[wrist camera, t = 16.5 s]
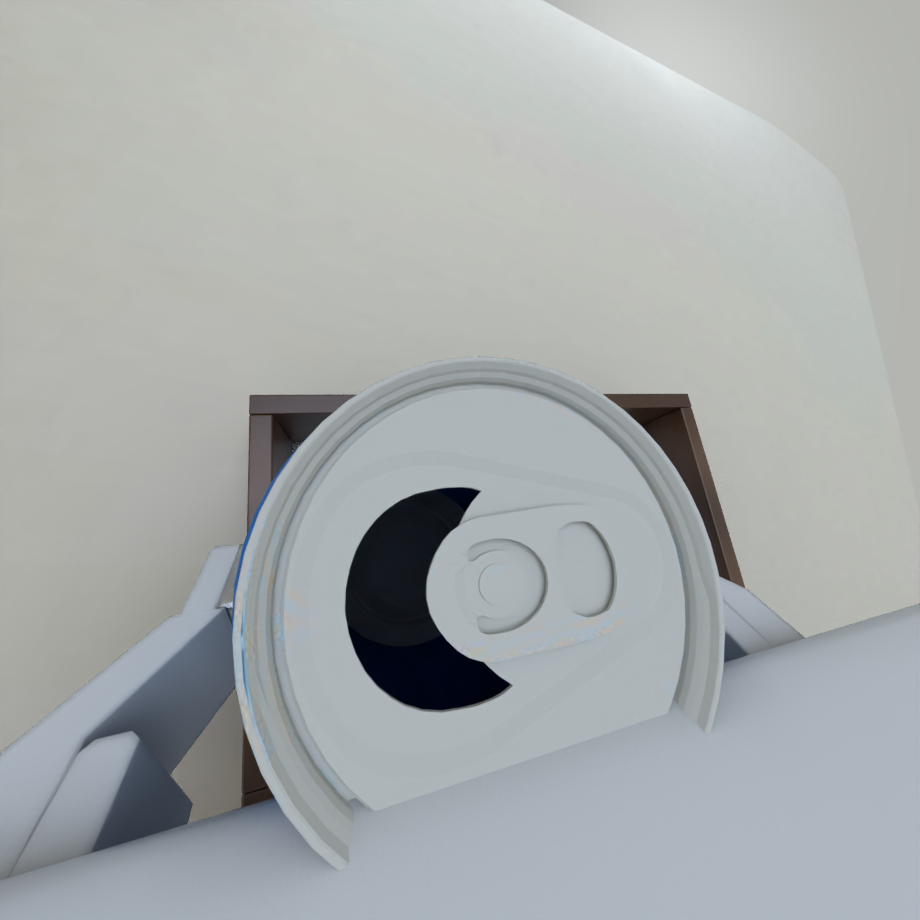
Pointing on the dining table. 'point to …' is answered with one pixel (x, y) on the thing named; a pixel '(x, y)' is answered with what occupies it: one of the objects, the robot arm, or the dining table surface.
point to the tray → (301, 414)
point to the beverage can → (465, 590)
